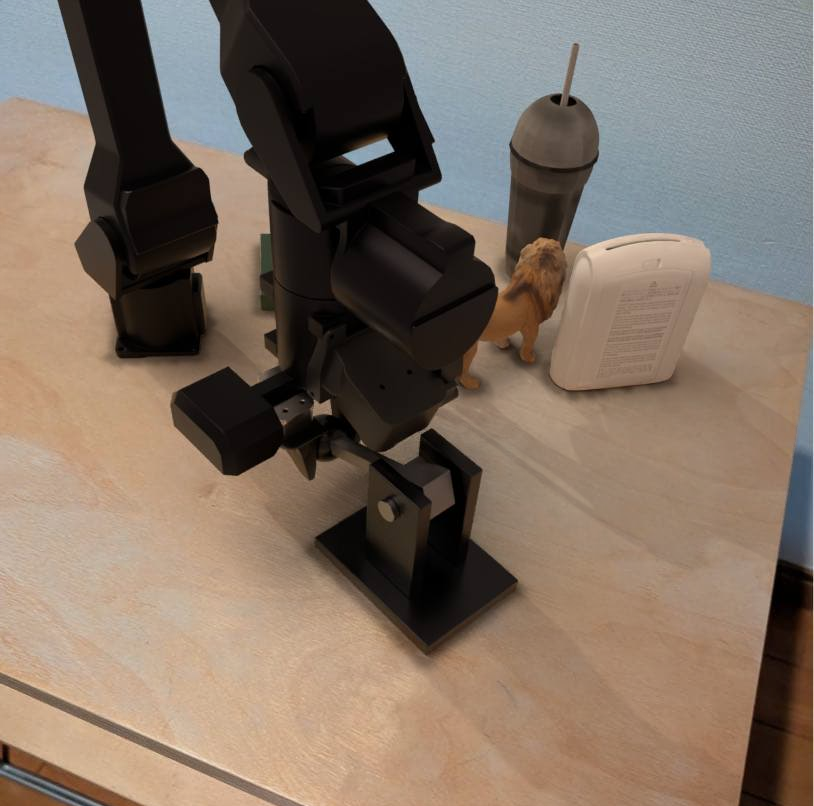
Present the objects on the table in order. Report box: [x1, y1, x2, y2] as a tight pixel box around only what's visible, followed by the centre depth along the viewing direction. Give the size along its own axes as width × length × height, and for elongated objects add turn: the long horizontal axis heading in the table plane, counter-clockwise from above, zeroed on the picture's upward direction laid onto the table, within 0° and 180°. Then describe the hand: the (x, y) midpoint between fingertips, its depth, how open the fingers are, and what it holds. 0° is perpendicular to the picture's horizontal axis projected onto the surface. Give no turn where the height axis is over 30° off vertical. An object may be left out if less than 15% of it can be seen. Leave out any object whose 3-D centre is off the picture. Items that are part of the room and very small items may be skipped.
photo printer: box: [549, 232, 712, 391], centre depth 69 cm, size 10×4×12 cm, turn 103°
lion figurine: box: [459, 238, 569, 390], centre depth 70 cm, size 15×5×9 cm, turn 134°
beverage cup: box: [504, 42, 600, 279], centre depth 74 cm, size 7×7×20 cm
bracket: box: [314, 427, 519, 656], centre depth 56 cm, size 11×8×10 cm
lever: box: [313, 413, 455, 520], centre depth 57 cm, size 13×3×3 cm, turn 42°
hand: (326, 465), depth 62 cm, fingers closed on lever, 3 cm apart
